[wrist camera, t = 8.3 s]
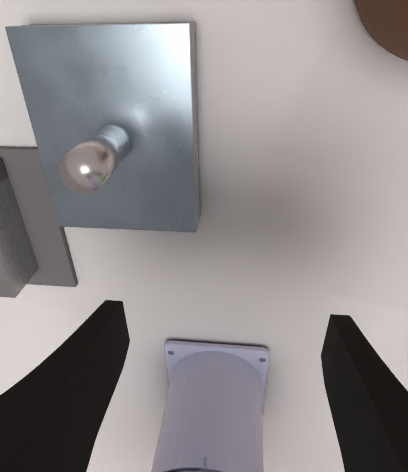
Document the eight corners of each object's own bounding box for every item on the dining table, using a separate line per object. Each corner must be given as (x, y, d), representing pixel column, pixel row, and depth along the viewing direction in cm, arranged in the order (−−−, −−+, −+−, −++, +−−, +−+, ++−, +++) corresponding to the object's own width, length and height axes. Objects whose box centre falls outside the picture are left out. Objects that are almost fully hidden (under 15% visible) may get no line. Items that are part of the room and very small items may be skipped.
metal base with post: (200, 214, 22) (185, 277, 17) (73, 209, 22) (22, 268, 17) (195, 21, 16) (170, 28, 11) (29, 24, 17) (-64, 32, 12)
